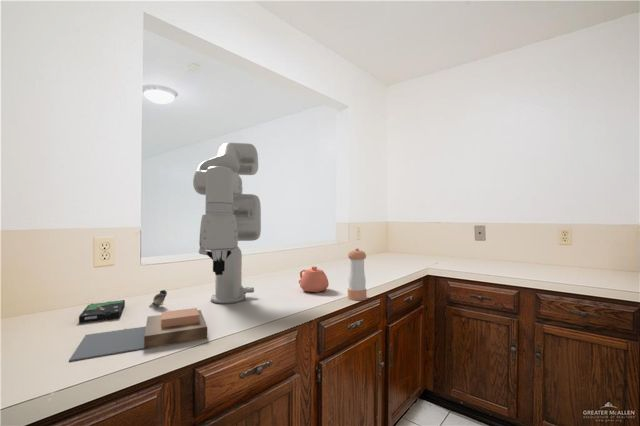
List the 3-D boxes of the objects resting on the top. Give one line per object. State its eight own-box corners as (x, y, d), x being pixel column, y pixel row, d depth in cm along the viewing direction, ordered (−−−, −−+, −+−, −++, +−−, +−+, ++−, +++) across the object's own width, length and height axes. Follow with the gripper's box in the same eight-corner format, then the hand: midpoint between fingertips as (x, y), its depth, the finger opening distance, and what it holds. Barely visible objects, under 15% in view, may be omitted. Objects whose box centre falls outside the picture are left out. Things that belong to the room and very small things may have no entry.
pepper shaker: (370, 297, 118) (370, 248, 119) (358, 301, 113) (358, 249, 114) (355, 294, 123) (355, 247, 124) (343, 297, 118) (343, 248, 119)
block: (196, 314, 88) (196, 307, 88) (199, 322, 81) (199, 314, 81) (161, 319, 83) (161, 312, 83) (161, 327, 77) (161, 319, 77)
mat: (147, 327, 86) (147, 326, 86) (144, 349, 72) (144, 347, 72) (85, 335, 79) (85, 334, 79) (68, 361, 65) (68, 360, 65)
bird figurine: (172, 306, 107) (171, 289, 106) (156, 311, 102) (155, 293, 102) (163, 303, 110) (162, 287, 109) (148, 308, 105) (147, 291, 105)
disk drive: (120, 320, 94) (124, 307, 107) (120, 311, 94) (125, 299, 107) (78, 326, 89) (88, 311, 102) (78, 316, 89) (88, 303, 102)
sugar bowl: (318, 295, 122) (318, 270, 122) (290, 291, 129) (290, 267, 129) (333, 289, 132) (333, 266, 132) (307, 285, 140) (307, 263, 140)
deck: (200, 319, 92) (200, 309, 92) (207, 338, 78) (207, 326, 78) (147, 327, 86) (147, 316, 86) (144, 349, 72) (144, 336, 72)
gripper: (242, 211, 94) (242, 270, 93) (190, 210, 87) (189, 274, 87) (248, 210, 87) (248, 274, 87) (192, 208, 81) (191, 278, 80)
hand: (218, 274), depth 87 cm, fingers closed
